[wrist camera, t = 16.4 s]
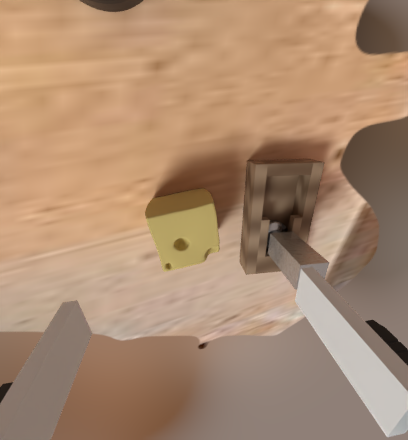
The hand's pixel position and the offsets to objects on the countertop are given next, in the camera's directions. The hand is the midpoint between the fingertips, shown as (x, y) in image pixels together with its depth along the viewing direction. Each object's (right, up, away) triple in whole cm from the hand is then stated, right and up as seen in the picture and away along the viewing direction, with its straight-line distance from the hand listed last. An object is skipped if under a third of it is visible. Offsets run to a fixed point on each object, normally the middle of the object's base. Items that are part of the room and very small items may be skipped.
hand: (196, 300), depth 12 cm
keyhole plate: (+14, +6, +30) cm, 34 cm away
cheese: (-4, +6, +28) cm, 28 cm away
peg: (+15, +2, +31) cm, 34 cm away
